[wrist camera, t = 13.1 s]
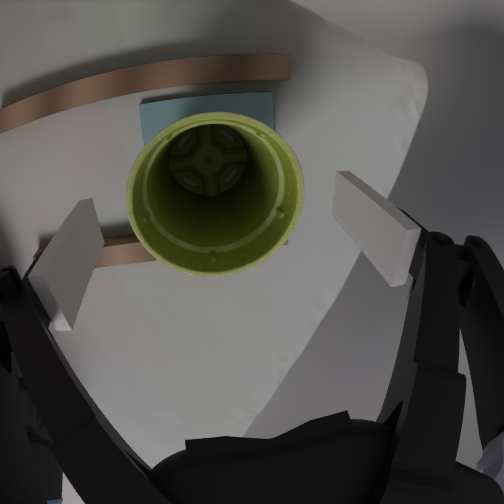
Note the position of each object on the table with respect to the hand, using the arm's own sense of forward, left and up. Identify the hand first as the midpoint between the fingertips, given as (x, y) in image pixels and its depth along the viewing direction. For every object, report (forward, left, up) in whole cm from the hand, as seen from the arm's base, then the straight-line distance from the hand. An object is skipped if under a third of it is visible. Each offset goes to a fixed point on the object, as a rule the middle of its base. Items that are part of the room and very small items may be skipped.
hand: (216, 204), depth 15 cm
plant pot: (0, 0, -9) cm, 9 cm away
